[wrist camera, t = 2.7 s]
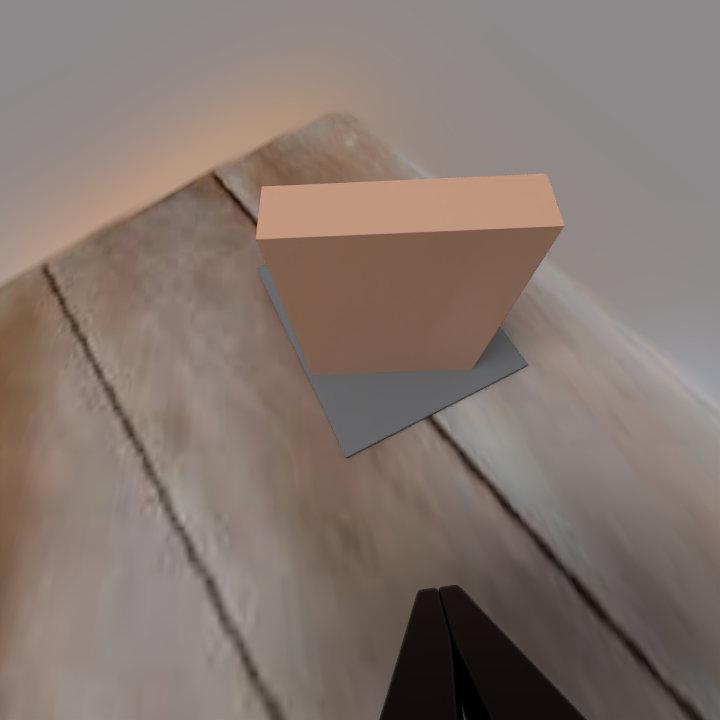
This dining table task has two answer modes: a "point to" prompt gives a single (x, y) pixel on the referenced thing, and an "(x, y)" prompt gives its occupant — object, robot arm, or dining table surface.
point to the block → (403, 266)
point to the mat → (395, 388)
